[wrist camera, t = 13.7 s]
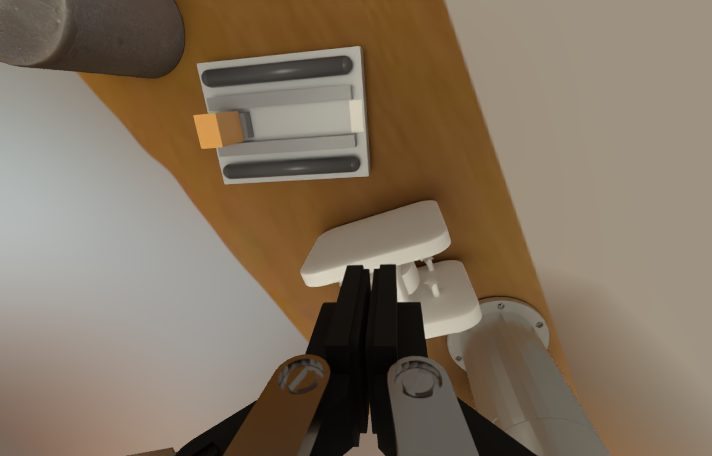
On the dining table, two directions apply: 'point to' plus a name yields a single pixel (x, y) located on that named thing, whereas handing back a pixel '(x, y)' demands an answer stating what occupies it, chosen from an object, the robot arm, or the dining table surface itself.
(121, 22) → the pillar candle
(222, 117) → the lever
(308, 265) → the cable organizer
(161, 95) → the dining table surface
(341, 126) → the grey slotted tray
